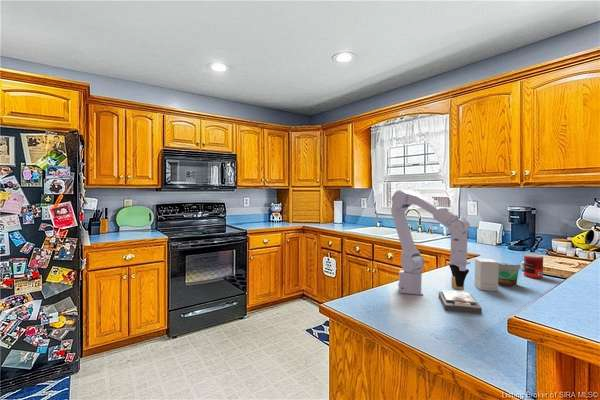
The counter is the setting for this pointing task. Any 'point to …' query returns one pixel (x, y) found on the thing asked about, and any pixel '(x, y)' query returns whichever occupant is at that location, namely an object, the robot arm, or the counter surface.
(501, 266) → the food container
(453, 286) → the cylinder
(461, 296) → the platform
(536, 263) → the canned food
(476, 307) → the scale
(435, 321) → the counter surface
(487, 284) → the supplement box
